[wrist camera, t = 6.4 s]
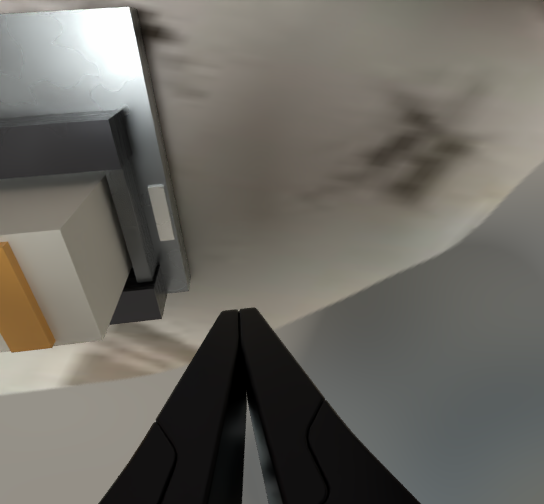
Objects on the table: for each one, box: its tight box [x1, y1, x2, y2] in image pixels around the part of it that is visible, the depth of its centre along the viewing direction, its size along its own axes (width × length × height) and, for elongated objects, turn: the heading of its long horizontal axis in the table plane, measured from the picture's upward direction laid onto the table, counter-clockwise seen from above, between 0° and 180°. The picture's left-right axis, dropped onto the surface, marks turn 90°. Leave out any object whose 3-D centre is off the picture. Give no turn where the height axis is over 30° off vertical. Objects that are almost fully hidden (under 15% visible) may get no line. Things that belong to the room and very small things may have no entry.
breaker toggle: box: [0, 171, 132, 353], centre depth 13 cm, size 4×4×5 cm
